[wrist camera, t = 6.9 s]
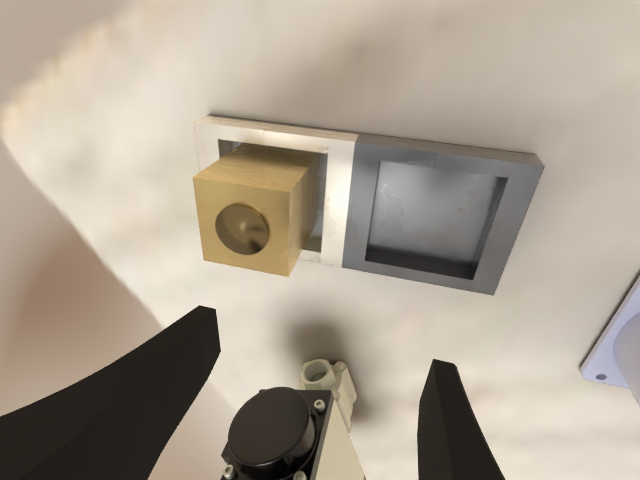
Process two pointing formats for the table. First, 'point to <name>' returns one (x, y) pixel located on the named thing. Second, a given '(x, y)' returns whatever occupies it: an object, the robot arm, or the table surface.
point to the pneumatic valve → (296, 430)
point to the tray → (399, 200)
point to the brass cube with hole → (257, 207)
